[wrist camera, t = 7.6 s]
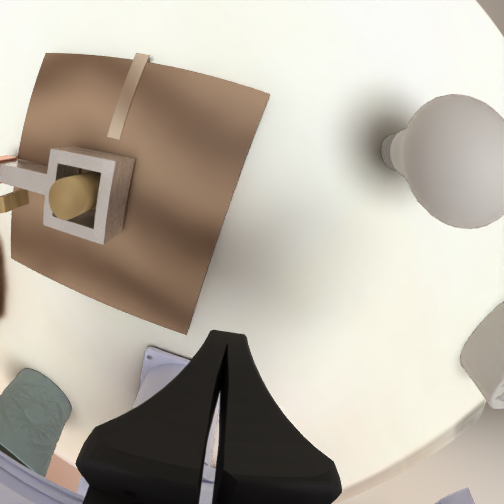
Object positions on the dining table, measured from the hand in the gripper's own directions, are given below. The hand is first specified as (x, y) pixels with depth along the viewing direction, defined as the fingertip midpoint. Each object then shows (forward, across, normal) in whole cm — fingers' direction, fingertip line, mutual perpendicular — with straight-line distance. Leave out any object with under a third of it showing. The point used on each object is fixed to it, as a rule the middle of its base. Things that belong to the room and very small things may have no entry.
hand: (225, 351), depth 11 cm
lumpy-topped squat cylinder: (+10, -31, +5) cm, 33 cm away
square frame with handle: (+9, +14, -4) cm, 17 cm away
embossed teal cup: (+10, +22, +23) cm, 34 cm away
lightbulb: (+10, -9, -9) cm, 16 cm away
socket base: (+10, +10, -4) cm, 15 cm away
